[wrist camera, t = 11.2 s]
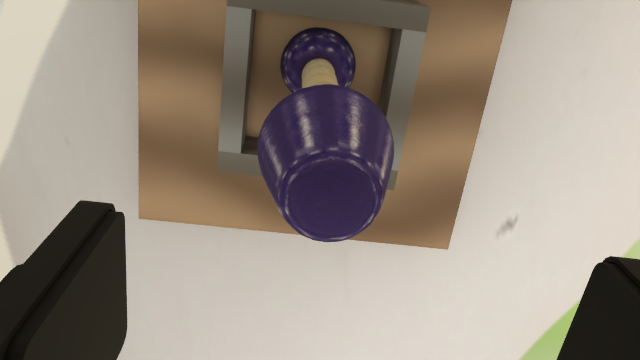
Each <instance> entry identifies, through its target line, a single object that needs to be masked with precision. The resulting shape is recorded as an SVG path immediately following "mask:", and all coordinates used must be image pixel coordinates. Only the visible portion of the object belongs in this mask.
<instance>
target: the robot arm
mask: <svg viewBox="0 0 640 360" xmlns="http://www.w3.org/2000/svg"><path fill="white" fill-rule="evenodd" d="M126 332H127V294H126V250H125V217H124V214H123V212H115V207H114V205H113V204H111V203H102V202H92V201H79V202H78V203H77V204H76V205H75V207H74V208H73V209H72V210H71V211H70V212H69V213H68V214H67V215H66V217H65V218H64V219H63V220H62V221H61V222H60V223H59V224H58V226H57V227H56V228H55V229H54V230H53V231H52V232H51V233H50V235H49V236H48V237H47V238H46V239H45V240H44V241H43V242H42V244H41V245H40V246H39V247H38V248H37V249H36V250H35V251H34V253H33V254H32V255H31V256H30V257H29V258H28V259H27V260H26V262H25V263H24V264H21V265H17V266H16V267H15V268H13V269H12V270H11V271H10V272H9V273H8V274H7V275H6V276H5V278H4V279H3V280H2V281H1V282H0V360H116V359H117V357H118V355H119V353H120V351H121V349H122V346H123V344H124V341H125V337H126ZM557 360H640V260H639V259H631V258H622V257H612V256H610V257H607V258H606V259H605V260H604V261H603V262H601V263H598V264H597V265H596V266H595V267H594V269H593V272H592V274H591V277H590V279H589V281H588V284H587V286H586V289H585V291H584V294H583V296H582V299H581V301H580V304H579V307H578V309H577V311H576V313H575V316H574V318H573V321H572V323H571V326H570V328H569V331H568V333H567V336H566V338H565V341H564V343H563V346H562V348H561V350H560V353H559V355H558V358H557Z"/></svg>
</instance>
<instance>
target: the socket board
mask: <svg viewBox="0 0 640 360" xmlns="http://www.w3.org/2000/svg"><path fill="white" fill-rule="evenodd" d="M511 3H512V0H138V82H139V219H148V220H158V221H168V222H178V223H188V224H198V225H208V226H218V227H228V228H238V229H248V230H258V231H269V232H279V233H289V234H299V233H298V232H297V231H296V230H294V229H293V228H292V227H291V226H290V225H289V224H288V223H287V222H286V220H285V219H284V218H283V216H282V215H281V213H280V211H279V209H278V207H277V205H276V204H275V202H274V200H273V198H272V196H271V193H270V191H269V189H268V187H267V185H266V183H265V181H264V178H263V176H262V173H261V170H260V166H259V162H258V137H259V134H260V131H261V128H262V125H263V123H264V121H265V119H266V117H267V116H268V114H269V113H270V111H271V110H272V109H273V108H274V107H275V106H276V105H277V104H278V103H279V102H280V101H281V100H282V99H284V98H285V97H287V96H288V95H290V94H292V92H291V91H290V90H289V89H288V87H287V86H286V84H285V82H284V80H283V78H282V74H281V69H280V66H281V65H280V63H281V57H282V53H283V50H284V48H285V47H286V45H287V44H288V42H289V41H290V40H291V39H292V38H293V37H294V36H295V35H296V34H297V33H299V32H301V31H303V30H305V29H309V28H314V27H319V28H327V29H331V30H334V31H336V32H338V33H340V34H341V35H342V36H343V37H344V38H345V39H346V40H347V41H348V42H349V44H350V45H351V47H352V49H353V52H354V55H355V62H356V69H355V74H354V78H353V81H352V83H351V85H350V86H349V88H351V89H353V90H355V91H358V92H360V93H361V94H363V95H364V96H366V97H368V98H369V99H370V100H371V101H373V102H374V103H375V104H376V105H377V106H378V107H379V109H380V110H381V111H382V112H383V114H384V116H385V117H386V119H387V121H388V124H389V126H390V128H391V131H392V136H393V141H394V159H393V165H392V169H391V174H390V178H389V182H388V186H387V190H386V194H385V198H384V201H383V204H382V207H381V209H380V211H379V213H378V215H377V216H376V218H375V219H374V221H373V222H372V223H371V224H370V225H369V226H368V227H367V228H366V229H365V230H364V231H362V232H361V233H359V234H357V235H356V236H354V237H352V238H349V240H359V241H369V242H379V243H389V244H399V245H409V246H419V247H429V248H439V249H448V247H449V243H450V239H451V235H452V231H453V227H454V223H455V219H456V216H457V212H458V208H459V204H460V200H461V196H462V192H463V189H464V185H465V181H466V177H467V173H468V169H469V165H470V161H471V158H472V154H473V150H474V146H475V142H476V138H477V134H478V131H479V127H480V123H481V119H482V115H483V111H484V107H485V103H486V100H487V96H488V92H489V88H490V84H491V80H492V76H493V73H494V69H495V65H496V61H497V57H498V53H499V49H500V45H501V42H502V38H503V34H504V30H505V26H506V22H507V18H508V15H509V11H510V7H511ZM299 235H301V234H299Z"/></svg>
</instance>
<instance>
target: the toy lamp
mask: <svg viewBox="0 0 640 360" xmlns="http://www.w3.org/2000/svg"><path fill="white" fill-rule="evenodd" d="M280 65H281V66H280V69H281V74H282V78H283V80H284V82H285V84H286V86H287V87H288V89H289V90H290V91H291V92H292V94H290V95H288V96H287V97H285V98H284V99H282V100H281V101H280V102H279V103H278V104H277V105H276V106H275V107H274V108H273V109H272V110H271V111H270V113H269V114H268V116H267V117H266V119H265V121H264V123H263V125H262V128H261V131H260V134H259V137H258V162H259V166H260V170H261V173H262V176H263V178H264V181H265V183H266V185H267V187H268V189H269V191H270V193H271V196H272V198H273V200H274V202H275V204H276V205H277V207H278V209H279V211H280V213H281V215H282V216H283V218H284V219H285V220H286V222H287V223H288V224H289V225H290V226H291V227H292V228H293V229H294V230H296V231H297V232H298V233H299V234H301V235H303V236H305V237H308V238H310V239H312V240H316V241H323V242H337V241H342V240H347V239H349V238H352V237H354V236H356V235H357V234H359V233H361V232H362V231H364V230H365V229H366V228H367V227H368V226H369V225H370V224H371V223H372V222H373V221H374V219H375V218H376V216H377V215H378V213H379V211H380V209H381V207H382V204H383V201H384V198H385V194H386V190H387V186H388V182H389V178H390V174H391V169H392V165H393V159H394V141H393V136H392V131H391V128H390V126H389V124H388V121H387V119H386V117H385V116H384V114H383V112H382V111H381V110H380V109H379V107H378V106H377V105H376V104H375V103H374V102H373V101H371V100H370V99H369V98H368V97H366V96H364V95H363V94H361V93H360V92H358V91H355V90H353V89H351V88H349V86H350V85H351V83H352V81H353V78H354V74H355V69H356V62H355V55H354V52H353V49H352V47H351V45H350V44H349V42H348V41H347V40H346V39H345V38H344V37H343V36H342V35H341V34H340V33H338V32H336V31H334V30H331V29H327V28H319V27H314V28H309V29H305V30H303V31H301V32H299V33H297V34H296V35H295V36H294V37H293V38H292V39H291V40H290V41H289V42H288V44H287V45H286V47H285V48H284V50H283V53H282V57H281V63H280Z"/></svg>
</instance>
